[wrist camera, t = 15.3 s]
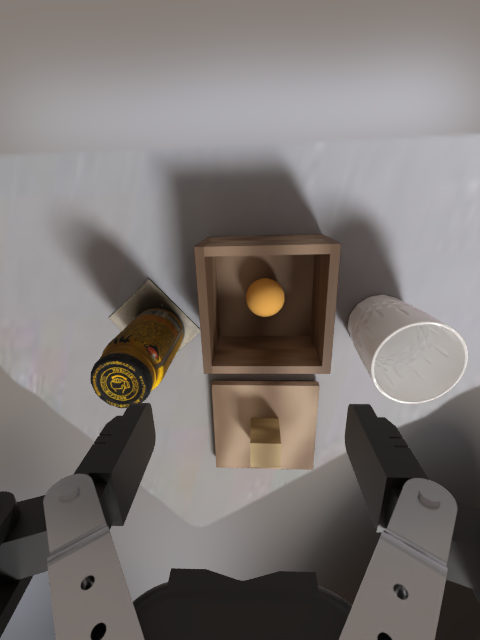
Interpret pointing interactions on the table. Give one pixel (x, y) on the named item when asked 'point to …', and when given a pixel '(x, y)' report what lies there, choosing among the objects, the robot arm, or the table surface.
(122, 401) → the condiment
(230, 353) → the box
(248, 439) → the lid
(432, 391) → the white cup
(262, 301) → the ball
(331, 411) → the table surface
